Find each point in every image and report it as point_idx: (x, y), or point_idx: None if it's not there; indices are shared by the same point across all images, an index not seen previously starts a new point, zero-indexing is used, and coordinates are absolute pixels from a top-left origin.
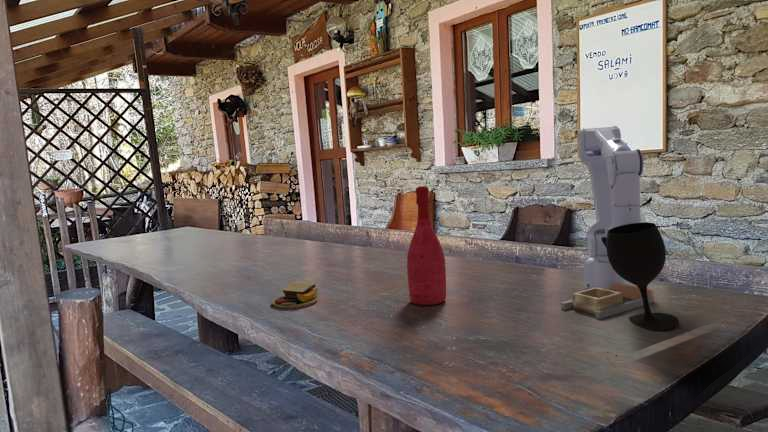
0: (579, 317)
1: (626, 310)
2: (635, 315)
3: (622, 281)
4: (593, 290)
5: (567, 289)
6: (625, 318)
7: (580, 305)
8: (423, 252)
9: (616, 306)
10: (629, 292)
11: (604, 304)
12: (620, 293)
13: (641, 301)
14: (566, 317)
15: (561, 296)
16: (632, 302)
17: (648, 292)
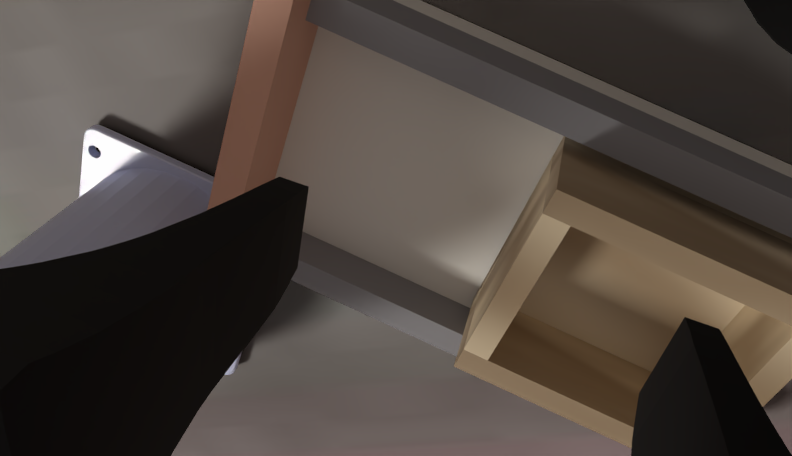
0: None
1: (623, 103)
2: (789, 18)
3: (135, 226)
4: (518, 367)
5: (213, 428)
6: (700, 84)
7: None
8: None
9: (714, 178)
10: (269, 148)
11: (777, 261)
12: (585, 202)
13: (440, 36)
14: (787, 393)
15: (356, 442)
16: (546, 90)
17: (296, 16)
